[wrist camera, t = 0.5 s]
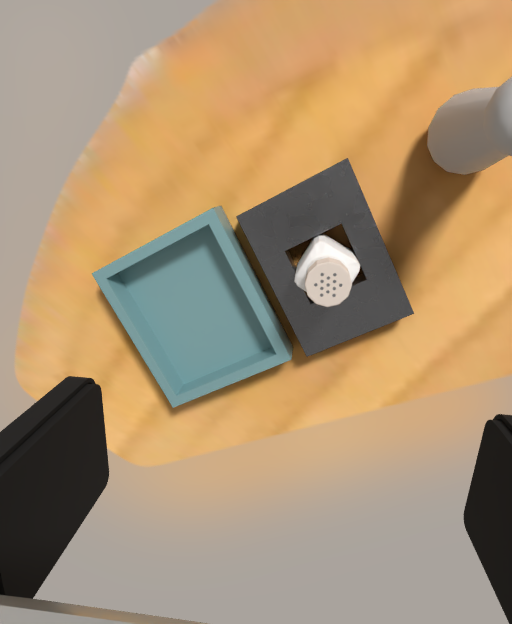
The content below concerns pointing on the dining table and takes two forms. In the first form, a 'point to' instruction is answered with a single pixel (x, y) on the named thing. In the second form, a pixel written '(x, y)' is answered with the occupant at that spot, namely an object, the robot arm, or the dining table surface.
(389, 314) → the socket block
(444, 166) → the salt shaker
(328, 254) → the pepper shaker
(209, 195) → the dining table surface
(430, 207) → the dining table surface
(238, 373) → the tray
